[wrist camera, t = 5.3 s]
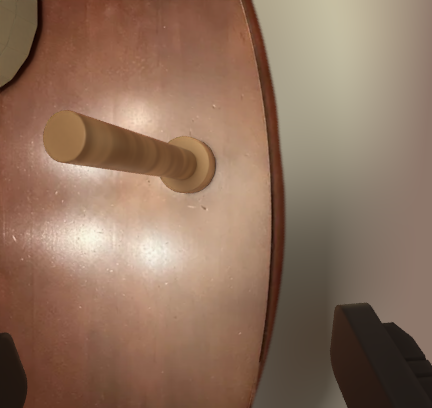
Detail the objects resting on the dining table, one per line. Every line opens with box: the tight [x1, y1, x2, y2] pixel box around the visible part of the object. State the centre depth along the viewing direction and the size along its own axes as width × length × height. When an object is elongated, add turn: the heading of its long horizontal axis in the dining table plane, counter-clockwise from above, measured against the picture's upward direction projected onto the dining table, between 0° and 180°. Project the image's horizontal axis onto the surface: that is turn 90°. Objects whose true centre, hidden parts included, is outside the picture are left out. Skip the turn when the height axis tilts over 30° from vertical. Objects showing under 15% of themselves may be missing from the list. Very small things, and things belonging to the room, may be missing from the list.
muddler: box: [43, 110, 215, 193], centre depth 25 cm, size 4×4×15 cm
